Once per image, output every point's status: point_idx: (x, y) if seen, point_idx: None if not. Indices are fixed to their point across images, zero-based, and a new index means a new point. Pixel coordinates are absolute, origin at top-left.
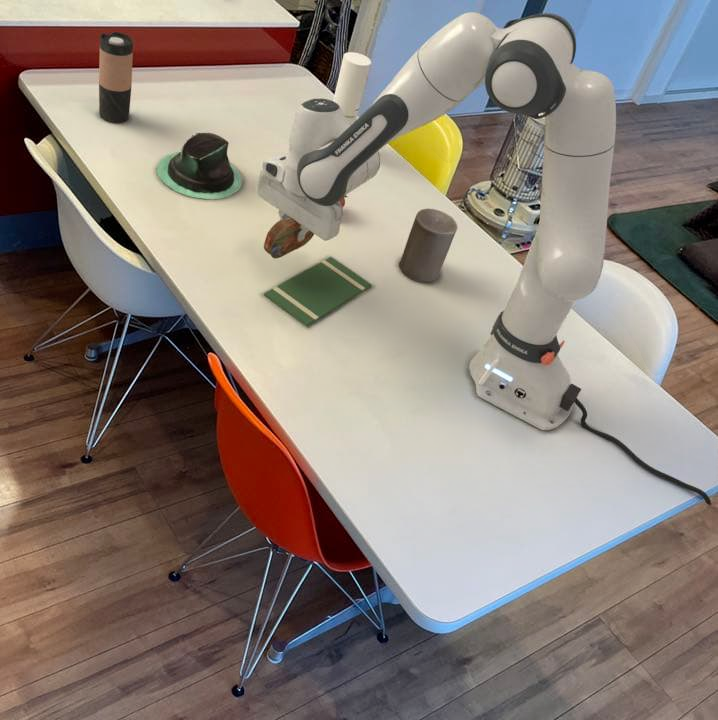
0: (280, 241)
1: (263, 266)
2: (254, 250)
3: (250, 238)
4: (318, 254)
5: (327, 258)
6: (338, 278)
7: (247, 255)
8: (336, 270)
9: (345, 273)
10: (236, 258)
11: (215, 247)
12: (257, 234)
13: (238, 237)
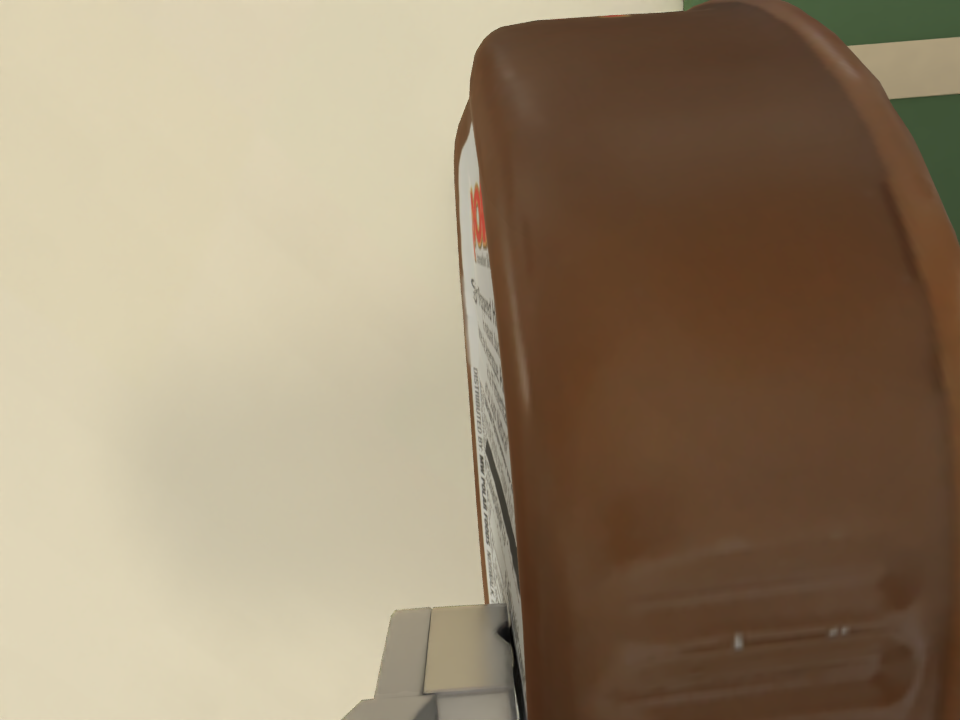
0: None
1: (447, 564)
2: (254, 496)
3: (104, 421)
4: (570, 16)
5: (693, 4)
6: (953, 146)
7: (282, 581)
8: (876, 74)
9: (956, 19)
10: (276, 667)
11: (104, 712)
12: (76, 329)
13: (56, 497)
